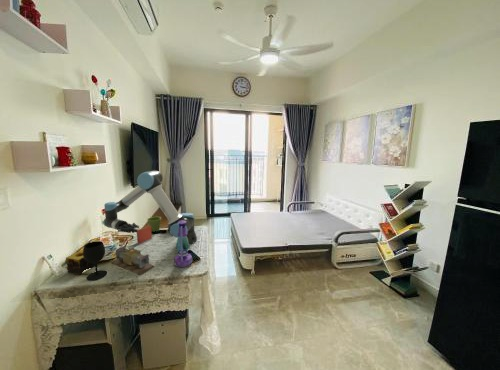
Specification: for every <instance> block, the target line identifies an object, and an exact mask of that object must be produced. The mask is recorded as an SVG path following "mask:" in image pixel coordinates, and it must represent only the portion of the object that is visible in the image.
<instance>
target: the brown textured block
mask: <svg viewBox="0 0 500 370" xmlns="http://www.w3.org/2000/svg"><path fill="white" fill-rule="evenodd" d="M65 261H66V270H67V271H66V272H67V273H69V274H73V275H79V276H81V275H83V274H82V272H83V271H84V270H86V269H89V268H91V269H93V268H95V265H94V264H92V263H89V262H87V261H86V260H85V259H84V257H83V249H82V250H79V251H76V252H75V253H72V254H71V255H68V256H67V257H65Z"/></svg>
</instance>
